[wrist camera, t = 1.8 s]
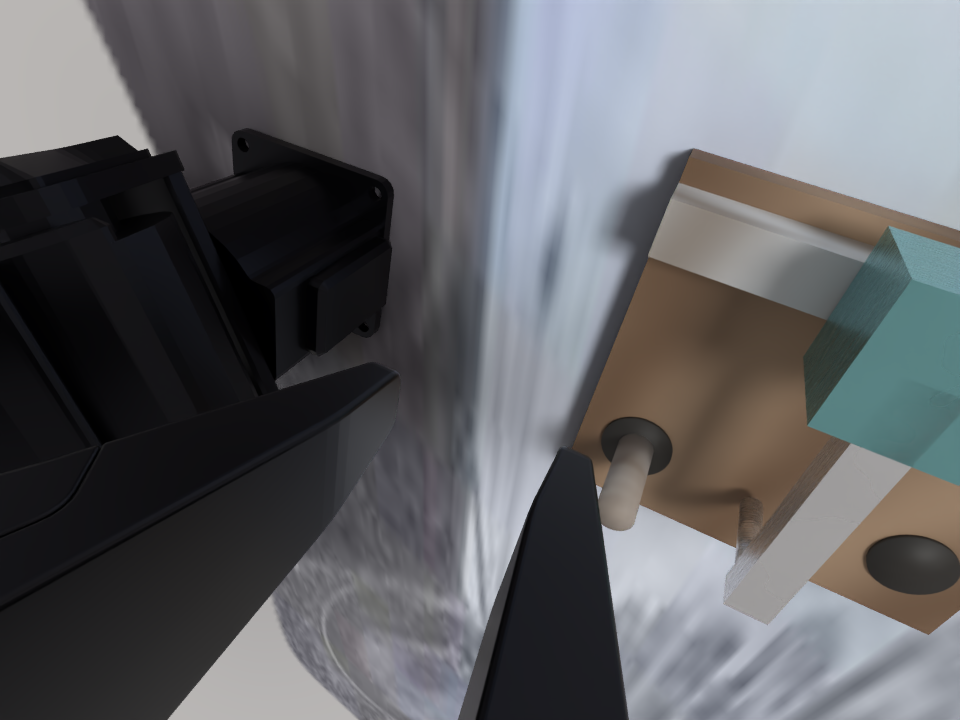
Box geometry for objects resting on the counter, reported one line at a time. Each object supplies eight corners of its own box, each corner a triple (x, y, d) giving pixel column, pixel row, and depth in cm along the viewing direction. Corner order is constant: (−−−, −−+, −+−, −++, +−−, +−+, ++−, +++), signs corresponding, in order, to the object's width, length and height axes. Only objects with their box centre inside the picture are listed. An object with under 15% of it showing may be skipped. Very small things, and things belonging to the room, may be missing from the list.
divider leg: (701, 492, 20) (685, 595, 17) (880, 207, 14) (912, 278, 10) (792, 532, 19) (795, 648, 16) (1021, 252, 13) (1103, 343, 10)
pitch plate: (570, 453, 23) (533, 537, 20) (693, 148, 16) (669, 193, 13) (923, 609, 20) (952, 739, 17) (1259, 323, 13) (1428, 445, 10)
